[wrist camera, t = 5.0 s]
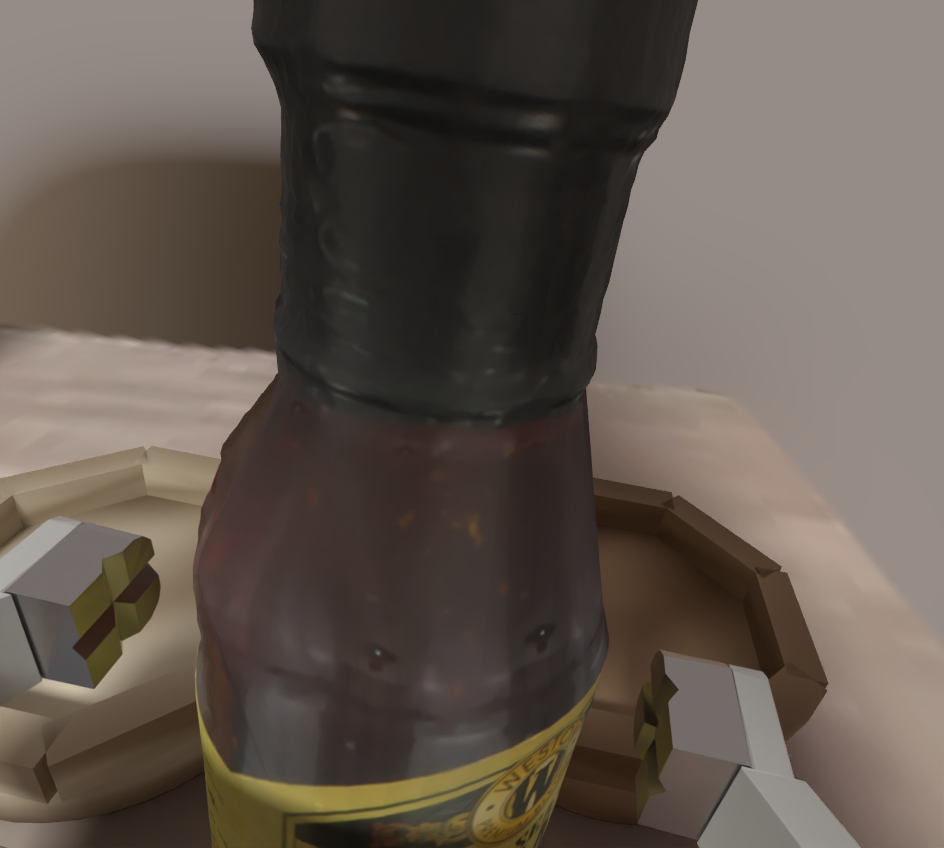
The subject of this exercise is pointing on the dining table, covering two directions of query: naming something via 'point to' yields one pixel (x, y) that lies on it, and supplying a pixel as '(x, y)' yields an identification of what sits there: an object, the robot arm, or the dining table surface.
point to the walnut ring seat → (679, 630)
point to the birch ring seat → (144, 654)
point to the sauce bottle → (424, 422)
